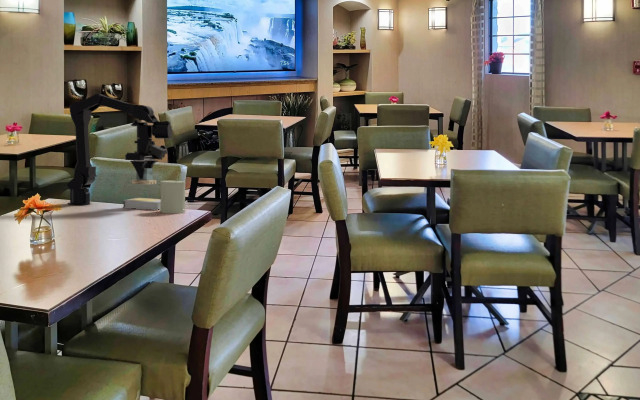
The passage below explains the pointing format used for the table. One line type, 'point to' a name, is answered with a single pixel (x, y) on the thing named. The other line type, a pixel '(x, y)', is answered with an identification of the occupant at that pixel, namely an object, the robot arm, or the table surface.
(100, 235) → the table surface
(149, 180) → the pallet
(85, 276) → the table surface
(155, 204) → the dock
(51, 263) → the table surface
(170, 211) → the can
